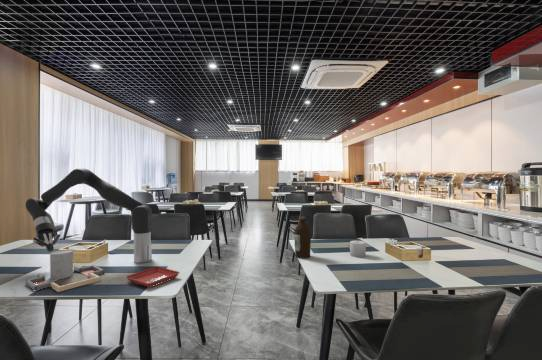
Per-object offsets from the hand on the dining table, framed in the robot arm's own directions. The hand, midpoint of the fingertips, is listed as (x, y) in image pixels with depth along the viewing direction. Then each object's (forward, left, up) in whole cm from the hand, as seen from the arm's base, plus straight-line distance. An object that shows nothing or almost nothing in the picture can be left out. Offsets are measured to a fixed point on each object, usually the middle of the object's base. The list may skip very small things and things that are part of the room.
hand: (50, 250), depth 159 cm
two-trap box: (-18, +18, -10) cm, 27 cm away
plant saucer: (-60, +25, -11) cm, 66 cm away
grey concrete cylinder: (-12, +12, -11) cm, 20 cm away
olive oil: (-142, -5, -11) cm, 143 cm away
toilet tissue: (-178, -4, -11) cm, 178 cm away
